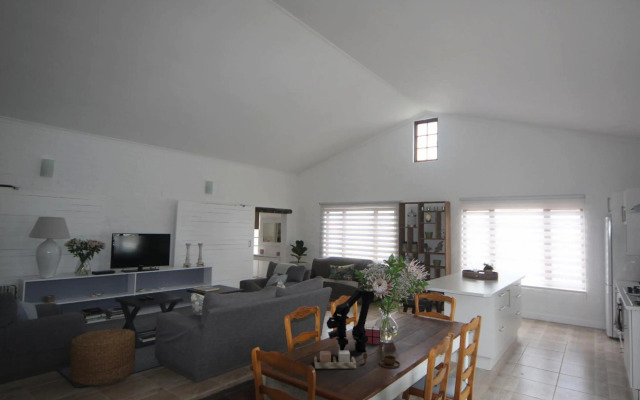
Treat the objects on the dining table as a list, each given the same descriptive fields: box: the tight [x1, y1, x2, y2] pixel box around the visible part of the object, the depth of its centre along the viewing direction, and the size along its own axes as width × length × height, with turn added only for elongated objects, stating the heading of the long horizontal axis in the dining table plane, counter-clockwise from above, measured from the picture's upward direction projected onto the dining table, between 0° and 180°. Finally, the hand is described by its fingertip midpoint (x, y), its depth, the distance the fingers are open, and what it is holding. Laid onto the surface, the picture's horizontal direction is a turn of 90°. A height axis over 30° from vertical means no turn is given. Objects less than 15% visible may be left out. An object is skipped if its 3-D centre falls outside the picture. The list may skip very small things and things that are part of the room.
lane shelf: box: [313, 356, 357, 369], centre depth 211 cm, size 24×10×3 cm, turn 93°
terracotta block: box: [319, 350, 332, 363], centre depth 211 cm, size 6×6×7 cm
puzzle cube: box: [365, 325, 381, 345], centre depth 256 cm, size 10×10×10 cm
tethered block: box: [337, 344, 351, 363], centre depth 219 cm, size 6×19×8 cm, turn 3°
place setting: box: [362, 352, 401, 369], centre depth 215 cm, size 18×20×6 cm
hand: (341, 351), depth 226 cm, fingers closed on tethered block, 3 cm apart
